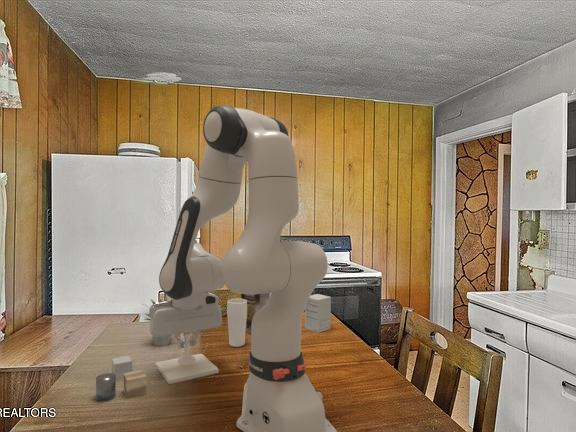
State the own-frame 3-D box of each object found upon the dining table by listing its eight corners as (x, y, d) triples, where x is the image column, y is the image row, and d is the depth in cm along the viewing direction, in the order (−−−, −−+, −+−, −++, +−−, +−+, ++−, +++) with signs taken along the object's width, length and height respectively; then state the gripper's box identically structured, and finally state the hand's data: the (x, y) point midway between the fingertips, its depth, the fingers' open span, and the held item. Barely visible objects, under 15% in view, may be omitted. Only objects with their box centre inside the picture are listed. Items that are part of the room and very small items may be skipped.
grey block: (132, 377, 108) (132, 361, 108) (114, 381, 106) (114, 364, 106) (129, 371, 112) (129, 355, 112) (111, 374, 109) (111, 358, 109)
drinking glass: (243, 349, 130) (243, 303, 130) (224, 347, 131) (224, 302, 131) (249, 342, 136) (249, 299, 136) (230, 340, 138) (231, 298, 138)
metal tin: (117, 398, 96) (117, 378, 96) (97, 403, 93) (97, 382, 93) (114, 391, 100) (114, 371, 99) (94, 395, 97) (94, 375, 97)
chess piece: (182, 357, 116) (182, 323, 116) (198, 358, 115) (198, 325, 115) (174, 363, 111) (174, 329, 111) (190, 365, 111) (191, 330, 110)
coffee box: (240, 331, 149) (240, 288, 148) (251, 326, 154) (251, 285, 154) (258, 335, 143) (259, 291, 143) (269, 331, 149) (269, 288, 148)
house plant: (194, 337, 141) (194, 292, 140) (176, 351, 127) (176, 301, 127) (157, 335, 143) (157, 290, 143) (135, 348, 129) (135, 299, 129)
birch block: (146, 394, 98) (146, 376, 98) (126, 398, 96) (126, 380, 96) (142, 387, 102) (142, 369, 102) (123, 391, 100) (123, 373, 100)
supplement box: (317, 325, 157) (317, 293, 157) (331, 329, 152) (331, 296, 152) (304, 328, 152) (304, 296, 152) (318, 333, 147) (318, 299, 147)
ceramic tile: (218, 372, 111) (218, 369, 111) (168, 384, 104) (168, 380, 104) (201, 356, 123) (201, 353, 123) (155, 365, 116) (155, 362, 115)
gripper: (152, 305, 105) (152, 357, 105) (224, 296, 116) (223, 343, 116) (146, 300, 110) (146, 350, 110) (215, 292, 121) (215, 337, 121)
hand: (186, 346), depth 113 cm, fingers closed on chess piece, 2 cm apart
